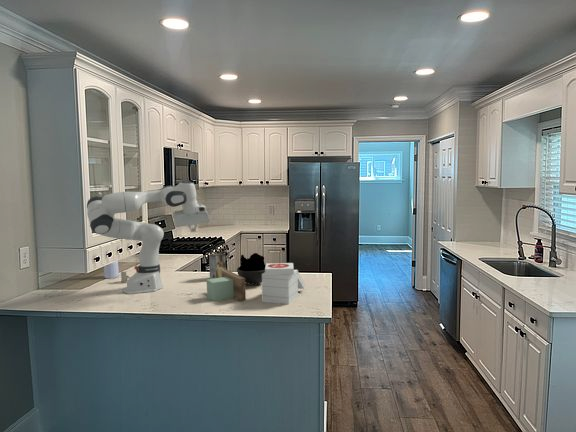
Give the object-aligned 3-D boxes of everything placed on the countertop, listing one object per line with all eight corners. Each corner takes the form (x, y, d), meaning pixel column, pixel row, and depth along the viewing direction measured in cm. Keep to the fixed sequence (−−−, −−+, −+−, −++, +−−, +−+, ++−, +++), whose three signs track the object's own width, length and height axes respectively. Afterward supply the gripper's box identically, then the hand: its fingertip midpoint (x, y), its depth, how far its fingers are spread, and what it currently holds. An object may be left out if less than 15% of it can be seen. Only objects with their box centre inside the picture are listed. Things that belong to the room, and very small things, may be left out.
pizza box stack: (308, 290, 250) (307, 259, 248) (290, 305, 222) (290, 270, 220) (277, 288, 257) (276, 258, 255) (256, 302, 228) (255, 268, 227)
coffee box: (219, 276, 288) (219, 252, 286) (226, 278, 284) (226, 253, 282) (209, 279, 281) (208, 254, 279) (216, 280, 277) (215, 255, 275)
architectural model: (126, 281, 281) (125, 270, 280) (132, 283, 276) (131, 271, 276) (121, 282, 278) (120, 271, 277) (127, 284, 274) (126, 272, 273)
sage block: (213, 301, 232) (212, 282, 231) (207, 297, 240) (206, 279, 239) (233, 297, 238) (233, 279, 237) (227, 294, 246) (226, 276, 245)
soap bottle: (116, 274, 298) (114, 239, 296) (120, 277, 291) (119, 240, 289) (102, 277, 292) (100, 240, 290) (107, 279, 285) (105, 242, 283)
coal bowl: (273, 280, 275) (272, 251, 273) (265, 289, 255) (265, 257, 253) (242, 279, 278) (241, 250, 276) (233, 287, 259) (232, 256, 257)
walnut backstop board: (240, 301, 231) (240, 279, 229) (222, 290, 253) (221, 270, 252) (245, 300, 232) (245, 278, 231) (226, 289, 254) (226, 269, 253)
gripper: (172, 213, 243) (176, 236, 247) (208, 207, 250) (211, 229, 254) (171, 210, 248) (174, 233, 252) (206, 204, 255) (209, 227, 259)
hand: (193, 231), depth 253 cm, fingers closed
